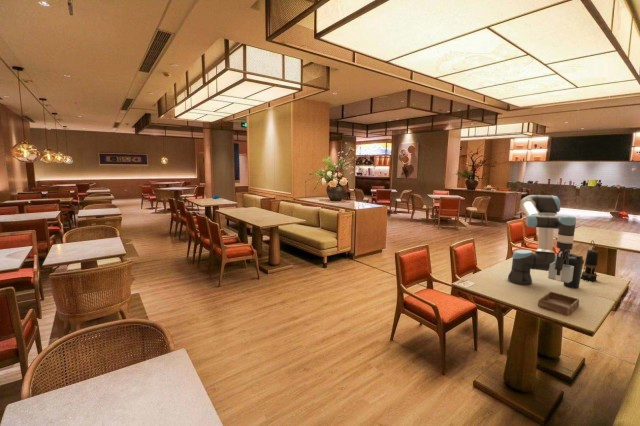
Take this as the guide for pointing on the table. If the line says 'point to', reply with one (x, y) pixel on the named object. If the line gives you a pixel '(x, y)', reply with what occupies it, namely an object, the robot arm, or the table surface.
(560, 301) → the walnut crate
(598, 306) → the table surface
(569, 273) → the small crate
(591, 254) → the lantern
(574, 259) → the water bottle
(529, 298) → the table surface
